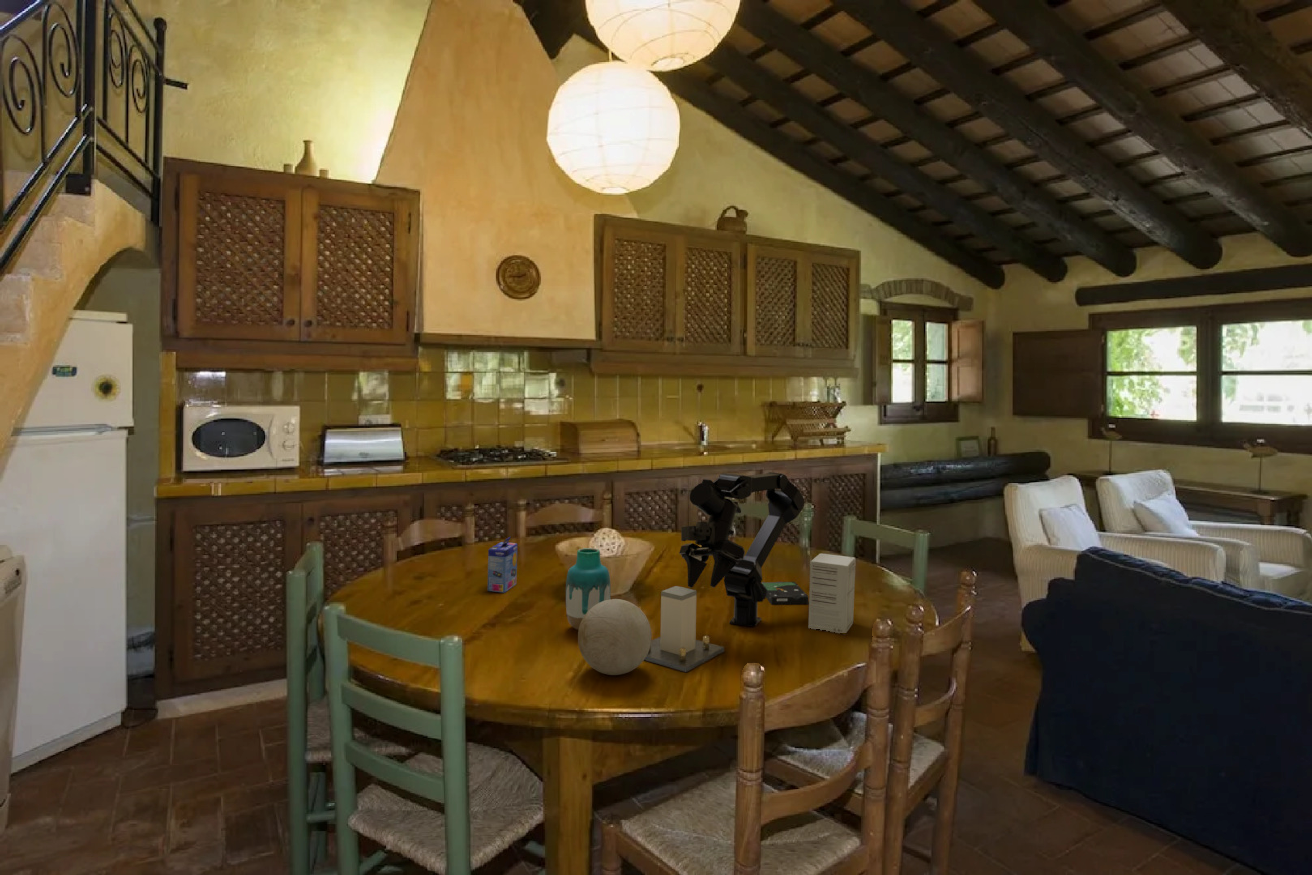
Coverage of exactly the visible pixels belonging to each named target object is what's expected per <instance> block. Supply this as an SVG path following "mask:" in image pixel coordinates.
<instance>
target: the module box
mask: <svg viewBox="0 0 1312 875" xmlns="http://www.w3.org/2000/svg"><path fill="white" fill-rule="evenodd" d="M660 597H661V598H660V637H661V640H660V650H664V651H667V652H671V653H674V654H678V655H679V648H682V647H683V648H686V653H687V652H689V651H691V650H693V649H695V640H697V639H696V638H697V637H696V636H697V635H696V632H697V631H696V629H697V624H696V623H697V590H696V589H691V588H689V587H688V588H687V587H683V586H678V585H675V586H671V587H669V588H666V589H665V590H664V589H663V590H662V591H661V592H660Z"/></svg>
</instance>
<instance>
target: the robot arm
mask: <svg viewBox="0 0 1312 875" xmlns="http://www.w3.org/2000/svg"><path fill="white" fill-rule="evenodd" d="M761 491H762V492H763V491H766V493H765V497H766V498H767V500H768V503H767V508H768V515H767V517H766V518H765V520H764V522H763V523H762V525H761V527H760V528H759V531H758V532H757V534H756V536H755V538H754V539H753V541H752V543H751V544H750V547H749V548H748V549H747V551H745V548H744V547H743V546H742V545H740V544H738V543H736V542H734V541H732V540H730V539H729V537H730V536H734V533H735V531H734V530H733V529H732V526H733V523H734V519H735V516H736V514H741V513H742V509H741V507H740V505H739V502H738V501H733V500H731V499H736V500H744V499H746V498H749V497H751V496H752V493H757V492H761ZM689 500H690V503H691V504H692V505H693V506H695V507H696V508H697V509H699V510H700V511H701V512H702V513H703V514H705V515H707V516H708V519H707V521H704V520H703V521H697V522H696V525H687V526H682V527H681V528H680V529H681V530H680V533H681V534H680V535H681V536H680V538H681V539H680V541H682V542H686V541H691V542H690V543H684V544H682V545H681V546H680V550H679V552H678V554H679V555H680V556H681V558H682V559H684V561H685V562H686V568H687V587H688V588H689V589H691V588H693V587H695V585H696V583H697V581H698V580H699V578H700V576H701V575H702V573H703V572H704V570H705V568H706V567H707V564H708V563H707V561H708V560H709V558H710V556H712V558H713V561H714V563H713V568H712V573H711V578H710V583H709V585H710V587H712V588H716V587H717V586H718V585H719V583H720V582H721V581H722V580H723V584H724V590H725V592H726V596H728V597H732V598H734V600H733V602H734V605H733V607H734V608H733V617H732V618H731V619H730V620H729V624H733V625H740V626H745V627H751V628H752V627H753V628H755V627H756V626H757V625H758V624H759V623H760V621H761V620H762V617H761V616H758V603H762V602H763V601H764V600H766V593H767V590H766V589H765V587H764V586H763V585H762V582H763V572H762V568H763V566H764V564H765V562H766V561H767V559H768V557H769V555H770V553H771V551H772V549H773V548H774V547H775V544H776V542H777V541H778V539H779V537H780V535H781V533H782V532H783V531H784V528H785V526H786V525H787V524H788V523H790V522H792V521H794V520H796V518H797V517H798V516H799V515H800V514H801V512H802V510H803V509H804V506H805V498H804V497H803V494H802V492H801V491H800V489H799V488H798V487H797V486H796V485H794V484H793V483H792V482H791V481H790V480H789V478H788V477H787V475H786V474H784V473H781V472H772V471H770V472H767V473H760V474H758V473H757V474H750V475H743V474H733V473H727V472H722V473H720V474H719V475H718V477H717V479H715V480H714V481H712V480H711V479H707V478H703V479H702V481H701V483H699V484H696V486H694V487H693V489H691V491H690V493H689ZM692 541H694V543H693V542H692Z"/></svg>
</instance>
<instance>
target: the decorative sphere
mask: <svg viewBox="0 0 1312 875" xmlns="http://www.w3.org/2000/svg"><path fill="white" fill-rule="evenodd" d="M577 631H578V632H577V643H578V649H579V651H580V653H581V656H582V658H583V659H584V660H585V662H586V663H587V664H588V665H589V667H591V668H592V669H594V670H595V671H597V672H599V673H601V674H605V675H609V676H620V675H624V674H627V673H630V672H632V671H633V670H635V669H636V668H638V667H639V666H640V665H641V664H642V663H643V662H644V661H645V660H644V659H645V657H646V656H647V654H648V652H649V649H650V646H651V641H652V628H651V624H650V622H649V620H648V618H647V616H646V614H645V613H644V612H643V611H642V609H641V608H640V607H638V606H637V605H636V604H634V603H632V602H630V601H628V600H625V599H620V598H619V599H618V598H612V599H611V598H610V600H605V601H602V602H600V603H598V604H596V605H595V606H593V607H592V608H591V609H590V610H589V611H588V612H587V613H586V614H585V616H584V618H583V619H582V621H581V624H580V626H579V630H577Z"/></svg>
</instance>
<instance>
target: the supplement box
mask: <svg viewBox="0 0 1312 875" xmlns="http://www.w3.org/2000/svg"><path fill="white" fill-rule="evenodd" d="M855 581H856V557H853V556H846V555H839V554H829V553H818V554H817V555H816V556H815V557H814V558H813V559H812V560H810V562H809V590H808V591H809V594H808V624H807V625H808V626H807V627H808V628H807V629H810V628H811V630H816V629H820V630H819V631H822V630H826V631H825V632H828V631H830V632H829V633H834V632H835V633H836V634H840V633H846V634H847V632H848V631H849V630H850V629H851V627H852V625H853V624H854V613H855V612H854V611H855V610H854V608H855V607H854V606H855V605H854V604H855V583H856V582H855Z"/></svg>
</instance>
